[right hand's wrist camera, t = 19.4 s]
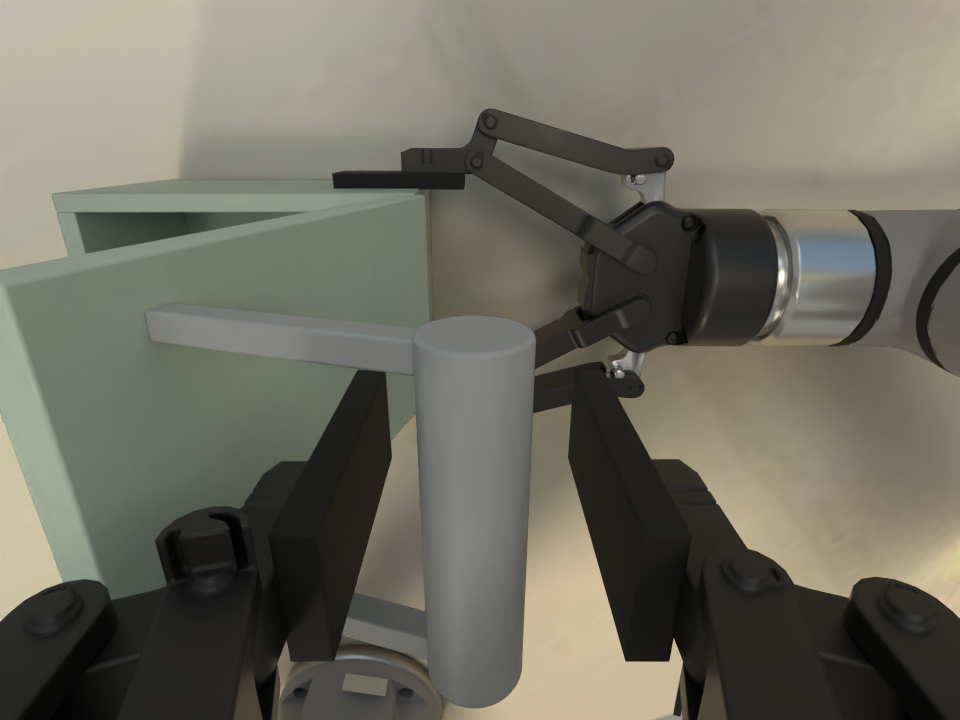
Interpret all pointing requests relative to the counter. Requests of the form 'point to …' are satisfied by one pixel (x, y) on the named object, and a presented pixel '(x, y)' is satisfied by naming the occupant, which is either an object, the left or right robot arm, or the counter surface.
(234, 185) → the chest
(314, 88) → the counter surface
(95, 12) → the counter surface
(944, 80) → the counter surface
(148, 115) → the counter surface
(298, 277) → the lid
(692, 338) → the left robot arm
